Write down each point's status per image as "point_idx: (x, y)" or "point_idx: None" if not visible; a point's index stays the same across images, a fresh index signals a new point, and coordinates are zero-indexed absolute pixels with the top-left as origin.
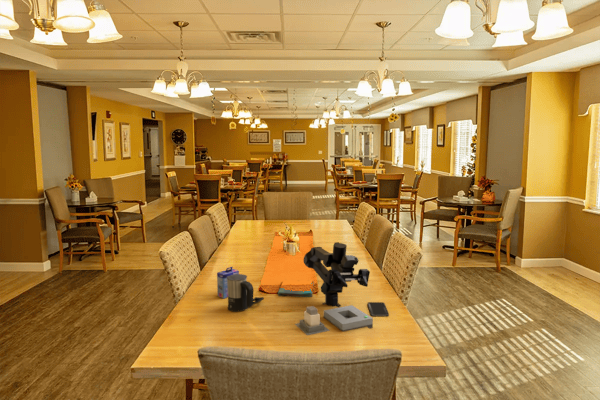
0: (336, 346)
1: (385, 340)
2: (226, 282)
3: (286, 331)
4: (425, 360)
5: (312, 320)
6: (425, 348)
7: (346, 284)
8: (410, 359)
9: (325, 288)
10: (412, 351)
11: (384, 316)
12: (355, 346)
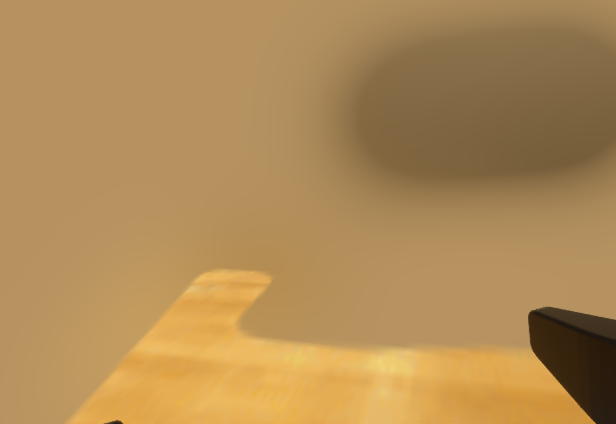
0: (502, 379)
1: (256, 400)
2: None
3: None
4: (220, 284)
5: None
6: (161, 330)
7: (554, 308)
8: (254, 289)
9: None
10: (216, 319)
11: None
12: (410, 369)
